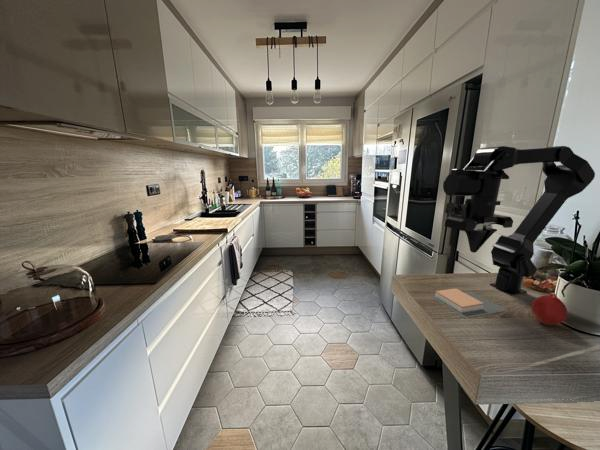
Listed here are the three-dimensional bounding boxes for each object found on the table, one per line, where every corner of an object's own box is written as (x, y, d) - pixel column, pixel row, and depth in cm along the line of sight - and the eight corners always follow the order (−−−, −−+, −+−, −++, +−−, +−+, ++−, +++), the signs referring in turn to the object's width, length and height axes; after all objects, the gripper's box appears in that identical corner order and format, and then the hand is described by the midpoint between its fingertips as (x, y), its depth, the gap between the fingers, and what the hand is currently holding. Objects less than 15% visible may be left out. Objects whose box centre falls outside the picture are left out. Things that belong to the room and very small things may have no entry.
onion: (529, 314, 62) (537, 284, 60) (562, 325, 58) (571, 293, 56) (526, 323, 58) (535, 292, 56) (562, 336, 54) (572, 302, 52)
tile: (456, 288, 70) (435, 291, 68) (483, 303, 63) (462, 306, 61) (455, 293, 70) (434, 296, 68) (482, 309, 63) (460, 312, 61)
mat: (470, 292, 72) (471, 291, 72) (507, 311, 63) (508, 310, 63) (431, 298, 68) (431, 296, 68) (464, 319, 59) (464, 318, 59)
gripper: (478, 192, 77) (469, 241, 81) (432, 193, 71) (424, 246, 75) (520, 197, 67) (507, 252, 71) (469, 198, 61) (458, 259, 64)
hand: (473, 252), depth 70 cm, fingers closed
